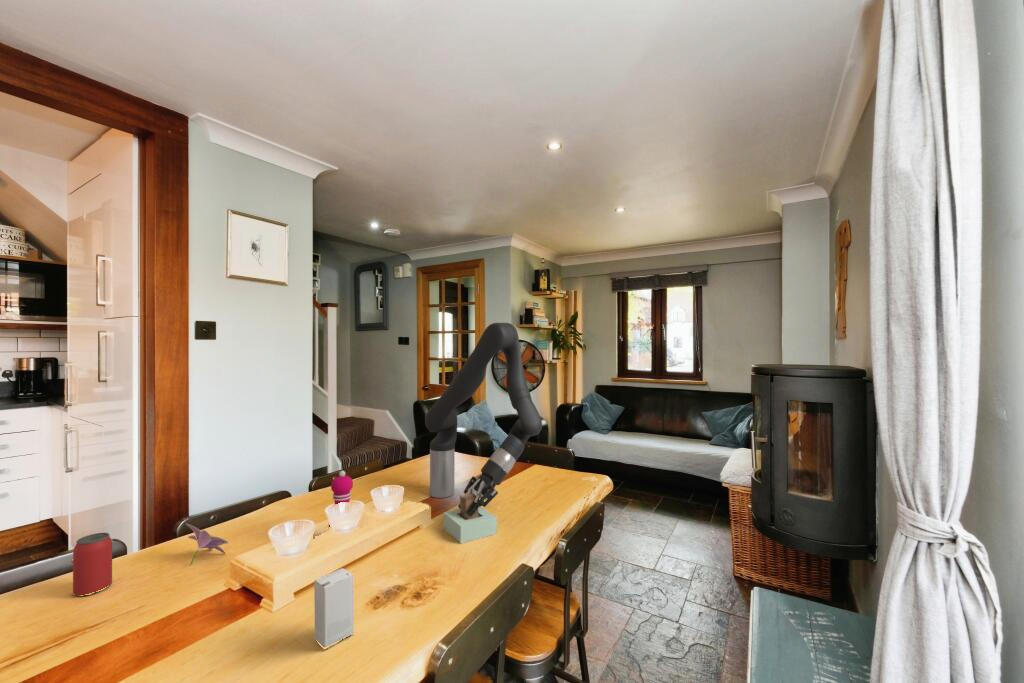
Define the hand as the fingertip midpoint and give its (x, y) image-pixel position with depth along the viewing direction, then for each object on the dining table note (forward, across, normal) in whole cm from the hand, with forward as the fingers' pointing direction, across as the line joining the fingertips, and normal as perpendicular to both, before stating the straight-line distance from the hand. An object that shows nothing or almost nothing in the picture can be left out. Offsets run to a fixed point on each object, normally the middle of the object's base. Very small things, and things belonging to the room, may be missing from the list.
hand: (464, 511), depth 130 cm
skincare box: (+34, +29, -25) cm, 52 cm away
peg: (+3, 0, +5) cm, 6 cm away
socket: (+3, 0, +6) cm, 7 cm away
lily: (+51, -23, -41) cm, 69 cm away
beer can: (+66, -19, -56) cm, 88 cm away
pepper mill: (+27, -15, -18) cm, 36 cm away
